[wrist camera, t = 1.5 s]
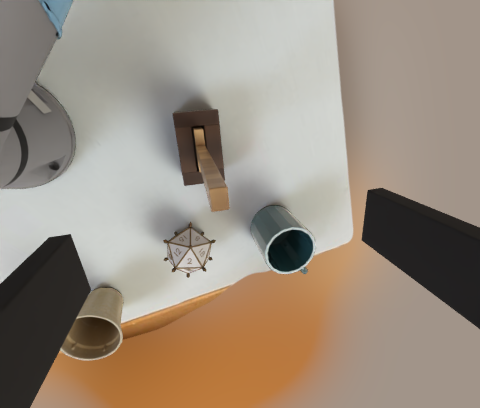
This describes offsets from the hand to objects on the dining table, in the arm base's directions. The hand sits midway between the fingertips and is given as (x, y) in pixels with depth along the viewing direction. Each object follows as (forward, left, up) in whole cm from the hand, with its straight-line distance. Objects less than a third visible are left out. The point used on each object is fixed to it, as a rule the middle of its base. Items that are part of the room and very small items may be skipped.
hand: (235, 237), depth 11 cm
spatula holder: (0, 0, -32) cm, 32 cm away
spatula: (0, 0, -31) cm, 31 cm away
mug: (+13, -18, -32) cm, 39 cm away
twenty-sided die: (-4, -17, -32) cm, 37 cm away
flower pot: (-21, -27, -32) cm, 47 cm away
